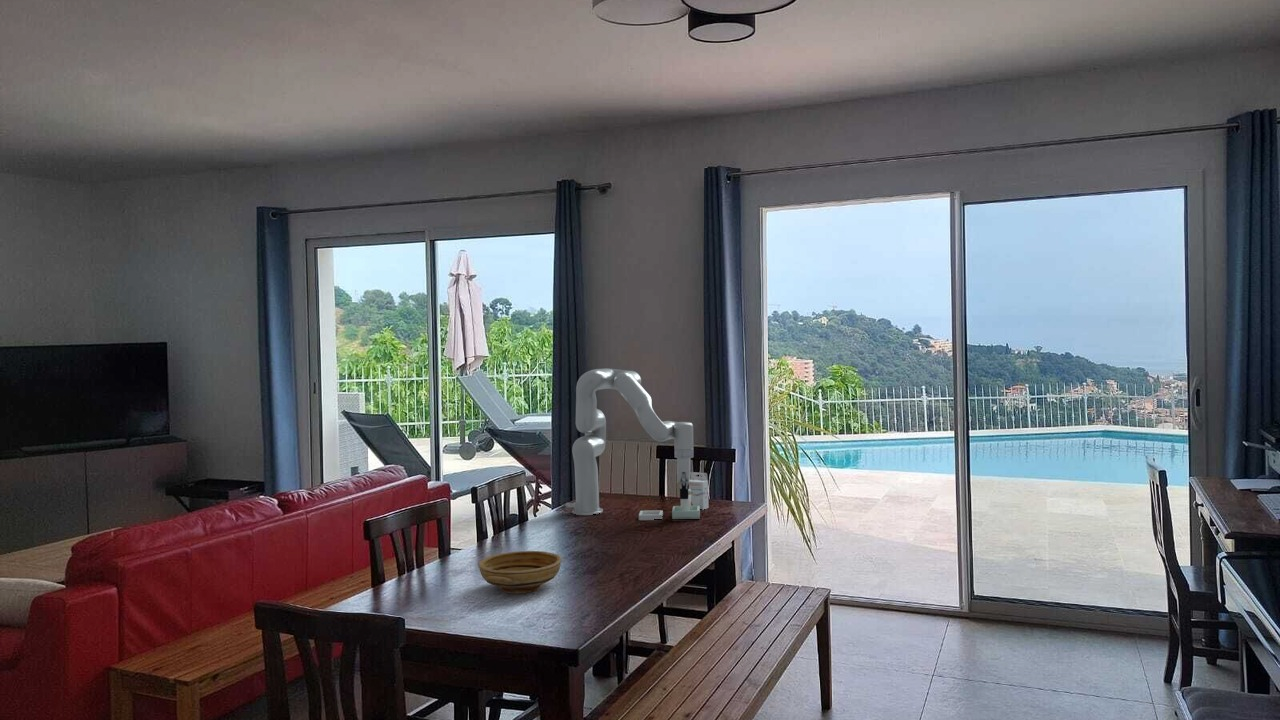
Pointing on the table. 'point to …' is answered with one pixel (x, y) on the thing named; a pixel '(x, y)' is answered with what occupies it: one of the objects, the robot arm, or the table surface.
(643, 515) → the white square dish
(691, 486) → the ink cartridge box
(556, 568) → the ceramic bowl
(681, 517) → the tray
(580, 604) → the table surface
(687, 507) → the fuse
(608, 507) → the table surface
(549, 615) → the table surface
